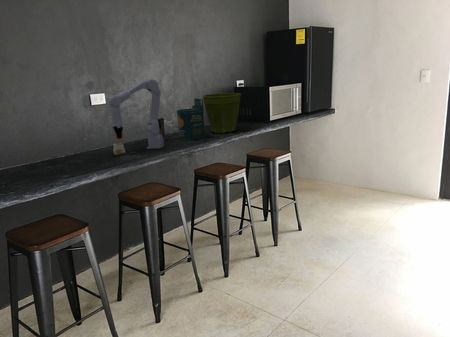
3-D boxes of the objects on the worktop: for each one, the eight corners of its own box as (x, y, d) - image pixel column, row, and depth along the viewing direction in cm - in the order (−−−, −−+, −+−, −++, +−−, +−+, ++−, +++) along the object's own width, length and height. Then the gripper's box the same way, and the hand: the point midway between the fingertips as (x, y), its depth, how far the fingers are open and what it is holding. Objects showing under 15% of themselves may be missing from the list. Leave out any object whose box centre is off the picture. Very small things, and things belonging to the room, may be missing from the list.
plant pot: (219, 127, 318) (217, 93, 311) (249, 129, 301) (248, 92, 293) (197, 133, 295) (194, 96, 288) (228, 136, 278) (226, 96, 270)
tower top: (122, 147, 242) (122, 143, 241) (124, 149, 237) (123, 144, 237) (113, 148, 240) (113, 144, 239) (115, 150, 235) (114, 145, 234)
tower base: (124, 151, 244) (123, 147, 243) (125, 153, 238) (125, 149, 237) (113, 153, 241) (113, 148, 240) (115, 155, 235) (114, 150, 235)
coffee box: (161, 142, 268) (159, 119, 264) (152, 142, 269) (150, 119, 265) (165, 139, 276) (163, 117, 272) (157, 139, 278) (155, 117, 274)
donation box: (205, 138, 272) (203, 99, 265) (184, 141, 266) (181, 101, 258) (197, 135, 286) (194, 98, 279) (177, 138, 280) (173, 100, 272)
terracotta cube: (122, 139, 241) (121, 131, 239) (123, 140, 236) (122, 132, 235) (115, 140, 239) (114, 132, 238) (116, 141, 235) (115, 133, 234)
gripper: (108, 115, 239) (111, 136, 242) (110, 118, 226) (113, 140, 229) (120, 114, 241) (122, 135, 245) (123, 117, 228) (125, 139, 232)
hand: (119, 137), depth 237 cm, fingers closed on terracotta cube, 4 cm apart
